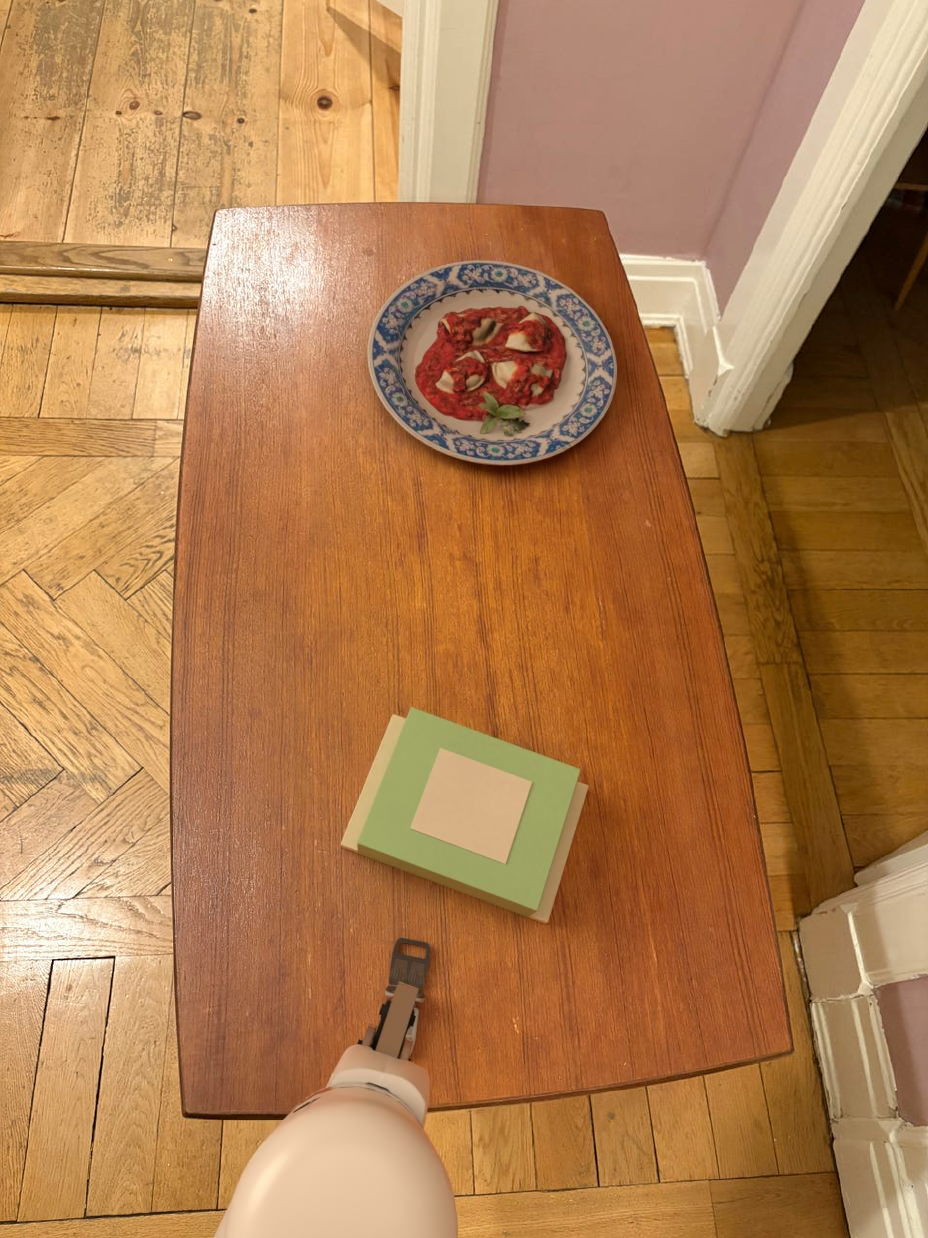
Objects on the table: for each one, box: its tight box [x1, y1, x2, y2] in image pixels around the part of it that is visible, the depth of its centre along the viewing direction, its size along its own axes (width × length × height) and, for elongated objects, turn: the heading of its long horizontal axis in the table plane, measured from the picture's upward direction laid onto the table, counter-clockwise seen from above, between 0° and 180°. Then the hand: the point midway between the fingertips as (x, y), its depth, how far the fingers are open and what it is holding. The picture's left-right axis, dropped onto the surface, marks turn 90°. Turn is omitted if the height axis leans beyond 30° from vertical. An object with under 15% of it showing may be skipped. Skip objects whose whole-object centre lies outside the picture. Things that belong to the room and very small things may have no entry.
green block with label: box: [340, 706, 590, 925], centre depth 78 cm, size 12×18×5 cm, turn 71°
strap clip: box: [378, 937, 431, 1057], centre depth 72 cm, size 8×3×4 cm, turn 170°
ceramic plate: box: [366, 259, 618, 466], centre depth 98 cm, size 26×26×3 cm
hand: (352, 1139), depth 56 cm, fingers open, 9 cm apart
